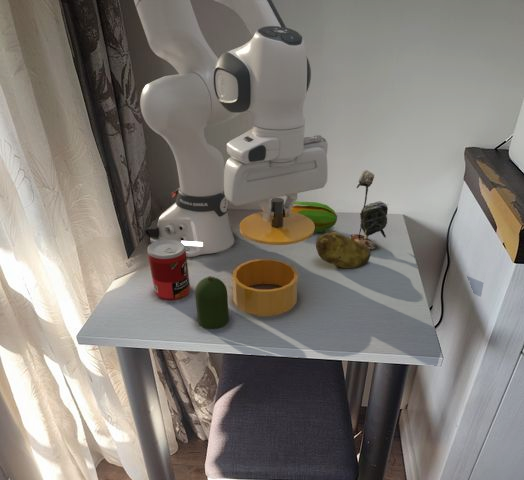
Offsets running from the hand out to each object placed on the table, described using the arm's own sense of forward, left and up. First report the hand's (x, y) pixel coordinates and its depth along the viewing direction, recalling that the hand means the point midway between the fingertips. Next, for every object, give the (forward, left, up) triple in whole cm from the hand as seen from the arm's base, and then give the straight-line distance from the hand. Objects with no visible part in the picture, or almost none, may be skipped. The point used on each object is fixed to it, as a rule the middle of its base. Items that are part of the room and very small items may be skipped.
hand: (276, 217), depth 89 cm
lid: (0, 0, -2) cm, 2 cm away
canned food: (-22, -7, -19) cm, 30 cm away
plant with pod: (+10, +33, -19) cm, 39 cm away
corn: (-9, +36, -19) cm, 42 cm away
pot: (-2, -1, -19) cm, 19 cm away
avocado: (-8, -13, -19) cm, 24 cm away
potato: (+8, +21, -19) cm, 29 cm away
